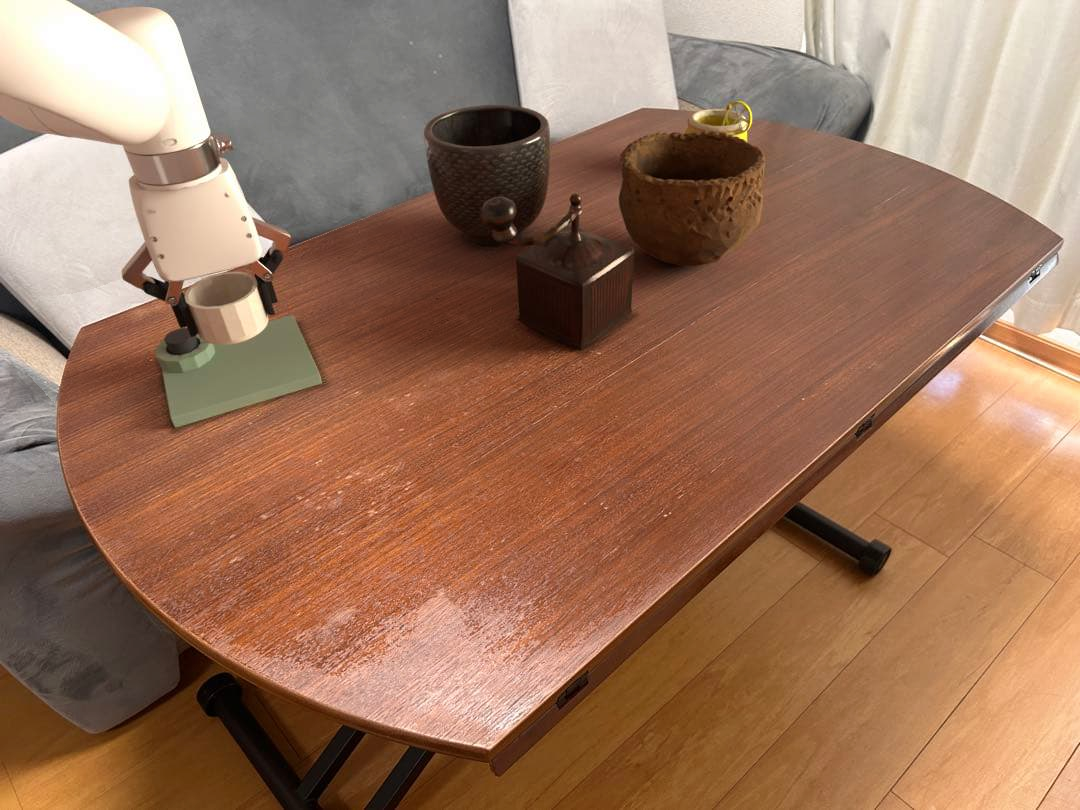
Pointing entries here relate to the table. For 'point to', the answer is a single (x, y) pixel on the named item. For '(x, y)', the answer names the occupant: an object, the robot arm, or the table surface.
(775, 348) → the table surface
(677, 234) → the bowl
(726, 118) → the mug
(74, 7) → the robot arm
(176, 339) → the tare button
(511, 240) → the pepper mill
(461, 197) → the planter
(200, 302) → the white bowl
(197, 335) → the scale
